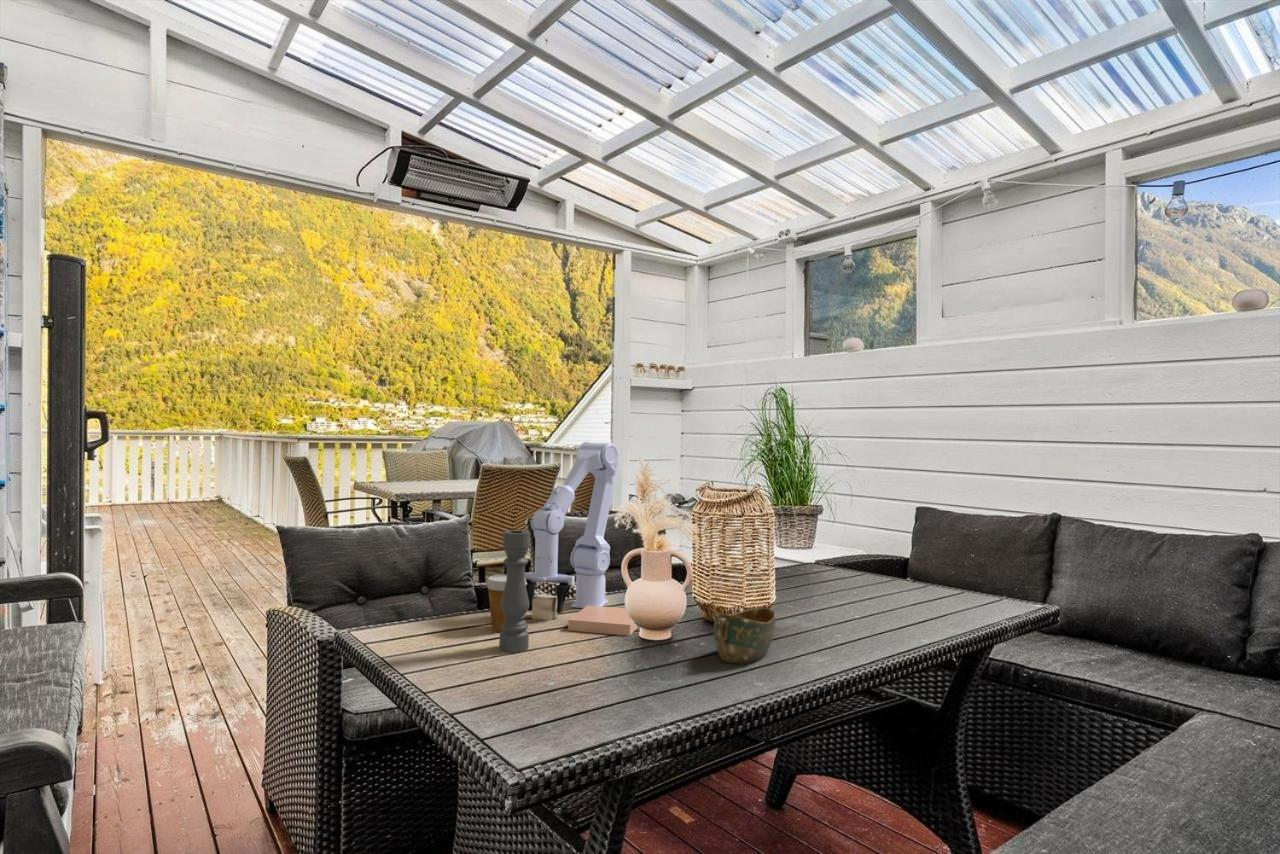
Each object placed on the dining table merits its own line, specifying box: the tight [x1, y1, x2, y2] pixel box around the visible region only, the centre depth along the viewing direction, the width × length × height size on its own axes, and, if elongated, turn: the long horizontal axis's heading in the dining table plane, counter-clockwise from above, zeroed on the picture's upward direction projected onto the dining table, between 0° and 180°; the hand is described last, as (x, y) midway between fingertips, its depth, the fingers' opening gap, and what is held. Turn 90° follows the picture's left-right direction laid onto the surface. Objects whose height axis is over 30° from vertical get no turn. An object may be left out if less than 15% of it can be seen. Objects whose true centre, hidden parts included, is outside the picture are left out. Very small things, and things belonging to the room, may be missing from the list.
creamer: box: [713, 607, 776, 665], centre depth 156 cm, size 13×20×10 cm, turn 116°
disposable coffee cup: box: [485, 573, 527, 633], centre depth 172 cm, size 10×10×12 cm
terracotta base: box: [567, 605, 638, 637], centre depth 178 cm, size 15×15×2 cm
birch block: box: [531, 594, 559, 621], centre depth 184 cm, size 5×5×5 cm
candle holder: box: [498, 529, 531, 654], centre depth 157 cm, size 6×6×25 cm
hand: (545, 611), depth 184 cm, fingers open, 7 cm apart
